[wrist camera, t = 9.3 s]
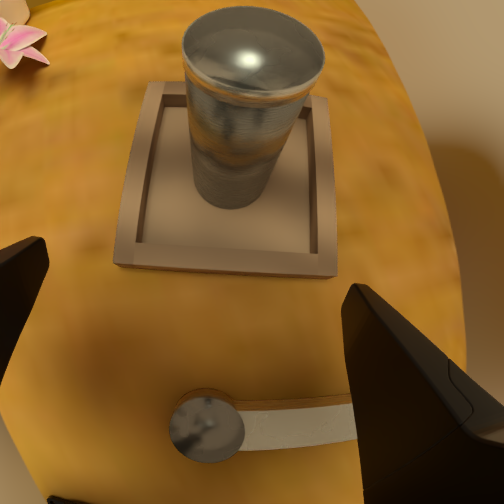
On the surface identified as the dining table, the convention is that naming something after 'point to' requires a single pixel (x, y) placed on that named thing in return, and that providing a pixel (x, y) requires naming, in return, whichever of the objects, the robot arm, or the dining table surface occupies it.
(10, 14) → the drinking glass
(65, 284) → the dining table surface
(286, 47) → the polished metal cylinder
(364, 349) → the robot arm
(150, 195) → the taupe tray
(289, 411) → the grey ratchet handle
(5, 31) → the lily
